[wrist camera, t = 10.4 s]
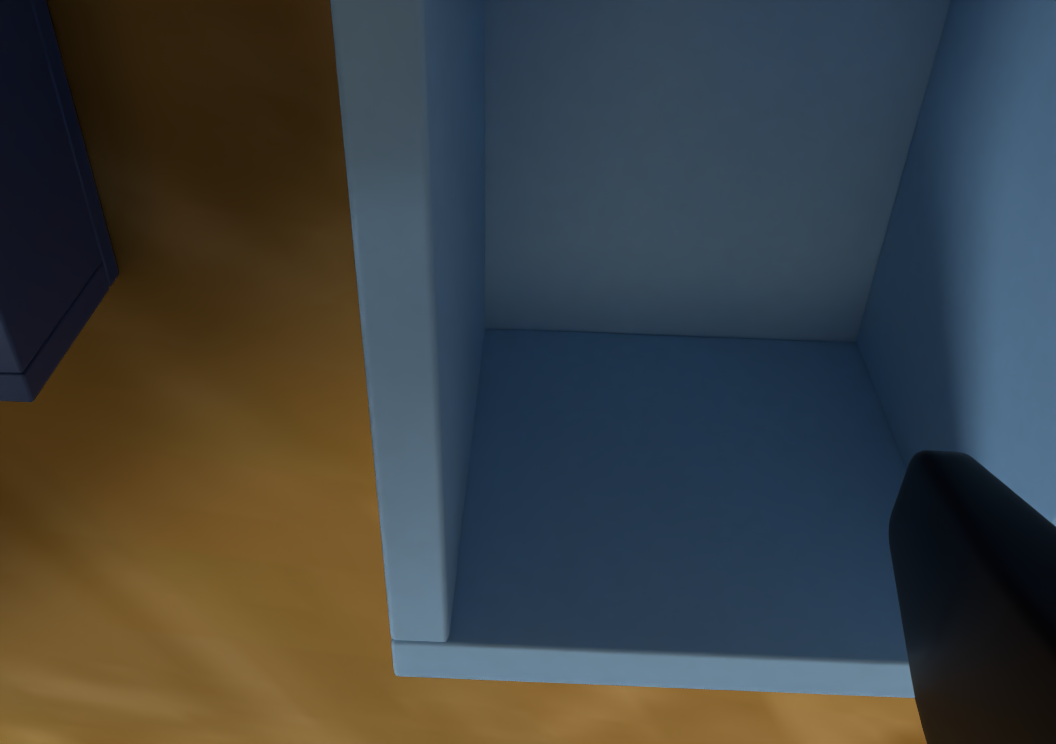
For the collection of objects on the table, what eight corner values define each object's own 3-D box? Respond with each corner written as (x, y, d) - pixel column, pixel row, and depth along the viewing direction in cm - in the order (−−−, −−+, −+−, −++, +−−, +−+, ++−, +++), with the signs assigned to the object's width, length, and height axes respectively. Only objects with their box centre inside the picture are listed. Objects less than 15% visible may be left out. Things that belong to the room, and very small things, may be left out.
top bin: (880, 360, 20) (1021, 704, 14) (448, 343, 20) (393, 677, 14) (1095, -359, 13) (1597, -326, 7) (425, -380, 13) (291, -368, 7)
